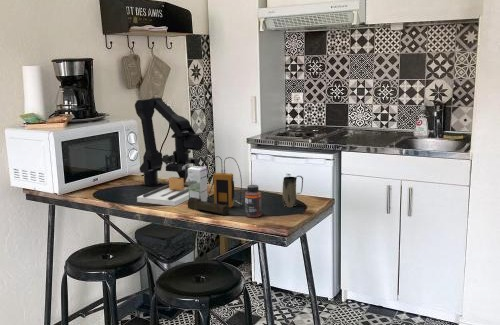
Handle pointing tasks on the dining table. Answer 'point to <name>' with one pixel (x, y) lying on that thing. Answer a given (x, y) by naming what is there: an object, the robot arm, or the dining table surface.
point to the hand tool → (207, 206)
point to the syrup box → (197, 182)
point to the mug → (290, 191)
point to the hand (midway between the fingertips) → (183, 183)
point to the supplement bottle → (253, 201)
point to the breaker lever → (176, 183)
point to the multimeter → (224, 187)
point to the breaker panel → (165, 196)
